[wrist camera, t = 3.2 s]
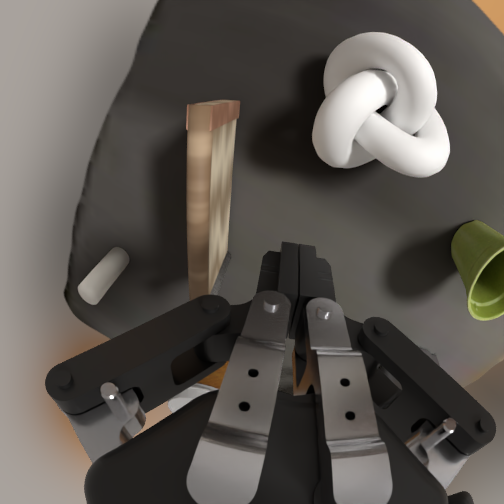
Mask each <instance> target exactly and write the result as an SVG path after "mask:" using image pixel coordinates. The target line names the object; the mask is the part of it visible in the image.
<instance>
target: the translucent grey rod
mask: <svg viewBox="0 0 504 504" xmlns="http://www.w3.org/2000/svg"><path fill="white" fill-rule="evenodd" d="M230 259H231V254H230V253H229V251H227V253H226V255H225V258H224V260H223V263H222V265H221V268H220V270H219V273H218V275H217V278H216V280H215V283H214V285H213V288H212V291H211V293H210V294H212V295H218V292H219V289H220V286H221V284H222V281H223V278H224V275H225V273H226V270H227V267H228V264H229V262H230Z"/></svg>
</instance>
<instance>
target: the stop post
mask: <svg viewBox="0 0 504 504" xmlns="http://www.w3.org/2000/svg"><path fill="white" fill-rule="evenodd" d="M128 264H129V256H128V254H127V252H126V251H125V250H124V249H122V248H120V247H114V248H112V249H111V250H110V251H109V253H108V254H107V255H106V256H105V257H104V258H103V259H102V260H101V261H100V262H99V263H98V264H97V265H96V267H95V268H94V269H93V270H92V271H91V272H90V273H89V274H88V275H87V277H86V278H85V279H84V280H83V281H82V282H81V283H80V285H79V286H78V292H79V294H80V296H81V297H82V298H83V299H84V300H85V301H86V302H87V303H89V304H92V305H96V304H97V303H98V302H99V301H100V300H101V298H102V297H103V296H104V294H105V293H106V292H107V290H108V289H109V288H110V286H111V285H112V284H113V283H114V281H115V280H116V279H117V278H118V276H119V275H120V274H121V272H122V271H123V270H124V269H125V267H126V266H127V265H128Z"/></svg>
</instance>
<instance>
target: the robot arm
mask: <svg viewBox="0 0 504 504" xmlns="http://www.w3.org/2000/svg"><path fill="white" fill-rule="evenodd" d="M288 333H289V339H295V346H294V350H293V353H292V365H293V395H290V394H287V393H284V392H281V391H278V385H279V380H280V375H281V369H282V364H283V358H284V352H285V339H286V338H287V336H288ZM227 361H229V363H228V366H227V369H226V372H225V375H224V378H223V381H222V384H221V387H220V389H219V390H214V391H210V392H207V393H205V394H202V395H200V396H198V397H196V398H195V399H193V400H191V401H190V402H189V403H187V404H186V405H184V406H183V407H181V408H180V409H178V410H177V411H175V412H174V413H172V414H171V415H169V416H167V417H166V418H165V419H163V420H161V421H160V422H158V423H157V424H155V425H154V426H152V427H150V428H149V429H147V430H146V431H144V432H142V433H140V434H139V435H137V436H136V437H134V438H133V436H134V435H135V434H137V433H138V432H139V431H140V430H141V429H142V428H143V426H144V425H145V421H146V416H145V413H147V412H149V411H150V410H152V409H154V408H156V407H157V406H159V405H161V404H163V403H164V402H166V401H168V400H169V399H171V398H173V397H174V396H176V395H178V394H179V393H181V392H183V391H184V390H186V389H188V388H189V387H191V386H192V385H194V384H196V383H197V382H199V381H200V380H202V379H204V378H205V377H207V376H208V375H210V374H211V373H213V372H215V371H216V370H218V369H219V368H221V367H222V366H223V365H225V363H226V362H227ZM380 365H382V367H381V369H379V366H380ZM45 386H46V390H47V392H48V394H49V395H50V396H51V397H52V399H53V400H54V401H55V402H56V403H57V405H58V407H59V408H60V409H61V411H62V412H63V413H64V414H65V415H66V416H67V417H68V418H69V420H70V422H71V424H72V426H73V428H74V430H75V432H76V434H77V436H78V438H79V440H80V442H81V444H82V446H83V447H84V449H85V451H86V453H87V454H88V456H89V458H90V460H91V461H92V463H93V464H92V465H91V467H90V469H89V470H88V472H87V475H86V479H85V485H84V490H85V497H86V501H87V504H474V503H473V499H472V497H471V495H470V494H469V493H468V492H466V491H462V492H459V493H456V494H453V495H450V496H447V493H446V491H445V489H446V488H447V487H448V486H449V484H450V483H451V482H452V480H453V479H454V478H455V476H456V475H457V473H458V472H459V471H460V469H461V468H462V466H463V465H464V463H465V462H466V460H467V459H468V457H469V456H470V455H472V454H474V453H475V452H476V451H478V450H479V449H481V448H482V447H484V446H485V445H487V444H488V443H489V442H491V441H492V440H493V438H494V436H495V433H496V424H495V421H494V419H493V417H492V416H491V415H490V413H489V412H487V411H486V410H485V409H484V408H483V407H482V406H481V405H480V404H479V403H478V402H477V401H476V400H475V399H474V398H473V397H472V396H471V395H470V394H469V393H468V392H467V391H465V390H464V389H463V388H462V387H461V386H460V385H459V384H458V383H457V382H456V381H455V380H454V379H453V378H452V377H451V376H450V375H448V374H447V373H446V372H445V371H444V370H443V369H442V368H441V367H440V365H439V362H438V359H437V357H436V355H432V354H431V353H430V352H429V351H427V350H425V349H420V348H419V347H418V346H416V345H415V344H414V343H413V342H412V341H411V340H410V339H409V338H407V337H406V336H405V335H404V334H403V333H402V332H401V331H399V330H398V329H397V328H396V327H395V326H394V325H393V324H391V323H390V322H389V321H387V320H385V319H383V318H379V317H371V318H368V319H367V320H366V321H365V322H364V324H362V323H359V322H357V321H354V320H351V319H349V318H347V317H346V316H344V314H343V311H342V308H341V307H340V306H339V305H338V304H337V303H336V299H335V292H334V285H333V278H332V272H331V266H330V265H329V263H328V262H327V261H326V260H325V259H322V258H316V249H315V246H309V245H303V244H299V246H298V244H295V243H289V242H282V244H281V250H280V252H274V251H268V252H267V253H266V254H265V255H264V256H263V260H262V265H261V271H260V276H259V281H258V287H257V292H256V295H255V296H254V297H253V299H252V300H251V301H249V302H247V303H245V304H240V305H230V304H229V303H228V301H227V300H226V299H224V298H223V297H221V296H218V295H212V294H207V295H202V296H199V297H197V298H195V299H193V300H191V301H189V302H187V303H185V304H183V305H181V306H179V307H177V308H175V309H173V310H171V311H169V312H167V313H165V314H163V315H160V316H158V317H156V318H154V319H152V320H150V321H148V322H146V323H144V324H142V325H140V326H138V327H136V328H134V329H132V330H130V331H128V332H125V333H123V334H121V335H119V336H117V337H115V338H113V339H111V340H109V341H107V342H105V343H103V344H100V345H98V346H96V347H94V348H92V349H90V350H88V351H86V352H83V353H81V354H79V355H77V356H75V357H73V358H71V359H69V360H66V361H64V362H62V363H60V364H58V365H56V366H54V367H53V368H52V369H51V370H50V371H49V373H48V374H47V377H46V380H45Z"/></svg>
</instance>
